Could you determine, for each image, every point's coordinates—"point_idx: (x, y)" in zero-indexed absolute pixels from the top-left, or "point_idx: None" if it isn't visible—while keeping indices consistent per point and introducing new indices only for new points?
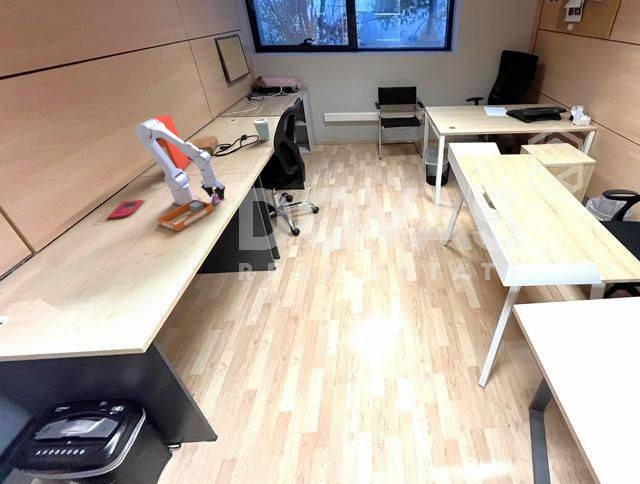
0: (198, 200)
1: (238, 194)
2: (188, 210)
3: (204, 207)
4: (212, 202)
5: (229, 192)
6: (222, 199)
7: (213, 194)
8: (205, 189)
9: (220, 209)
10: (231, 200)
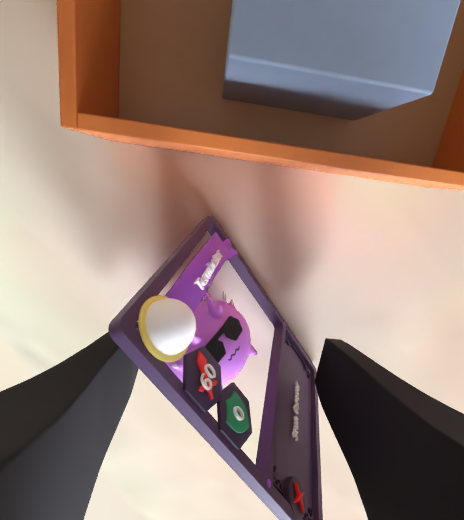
0: (423, 174)
1: (124, 475)
2: (459, 10)
3: (224, 86)
4: (193, 235)
5: None
6: None
7: (126, 346)
8: (447, 442)
9: (37, 176)
10: None
